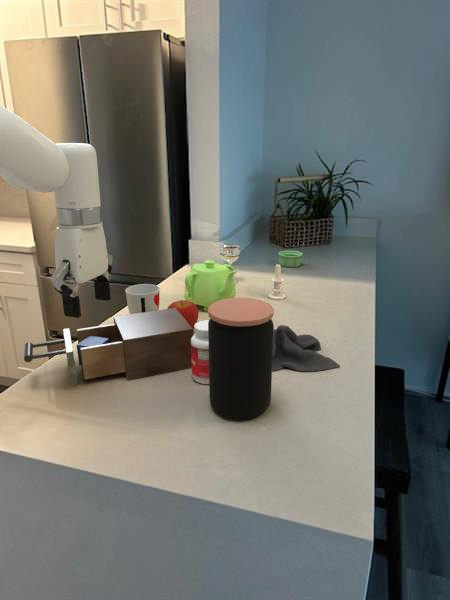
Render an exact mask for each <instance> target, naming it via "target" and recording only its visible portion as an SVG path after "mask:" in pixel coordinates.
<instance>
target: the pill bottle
mask: <svg viewBox="0 0 450 600" xmlns="http://www.w3.org/2000/svg"><path fill="white" fill-rule="evenodd" d="M209 320H210V319H207V320H206V319H205V320H200V321H197V323H196V324H195V325H194V330H193V336H192V338H191V359H192V368H191V377H192V379H193V380H194V381H195V382H197V383H198V384H199V383H200V384H203V385H209V341H208V322H209Z"/></svg>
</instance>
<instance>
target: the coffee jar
mask: <svg viewBox="0 0 450 600" xmlns="http://www.w3.org/2000/svg"><path fill="white" fill-rule="evenodd" d="M207 313H208V318H210V319H208V320H209V322H208V341H209V384H208V386H209V390H208V391H209V404H210V405H211V407H212V408H213V409H214V411H216V413H217V414H218V415H220V416H221V417H224V418H226V419H229V420H235V421H249V420H252V419H255V418H258V417H259V416H262V415H263V414H264V413H265V411H266V410H267V409H268V408H269V407H270V405H271V402H272V382H273V381H272V379H273V371H272V356H273V329H275V328H274V327H275V325H274V321H273V320H272V319H273V317H274V313H275V309H274V307H273V305H272V304H270V303H269V302H267V301H264V300H262V299H257V298H253V297H234V298H228V299H223V300H219V301H216V302H214V303H213V304H211V305H210V306H209V308H208V311H207Z"/></svg>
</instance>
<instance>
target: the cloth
mask: <svg viewBox="0 0 450 600" xmlns="http://www.w3.org/2000/svg"><path fill="white" fill-rule="evenodd" d="M321 350H322V347H321V343H320V341H319V339H318V338H317V337H315V336H313V335H312V334H299V335H297V333H296V332H295V331H294V330H293V329H292V328H291V327H290V326H288V325H283V324H280V325H278V326H277V328H276V329H275V328H273V356H272V372H276V371H280V370H281V369H284V368H287V369H290V370H294V371H298V372H301V373H302V372H303V373H310V372H322V371H326V370H332V369H336V368H340V367H341V365H340V364H339V363H337V362H336V361H335V360H333V359H332V358H330V357H329V356H324V355H323V354H321V353H319V352H317V351H321Z"/></svg>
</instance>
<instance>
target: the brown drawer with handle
mask: <svg viewBox="0 0 450 600" xmlns="http://www.w3.org/2000/svg"><path fill="white" fill-rule="evenodd" d="M62 333H63V338H62V339H56V340H49V341H43V342H37V343H32V342H31V341H30V342H29V341H28V342H26V343H25V344H24V352H23V360H24V362H26V363H31V362H32V361H33V360H36V359H42V358H48V357H54V356H55V357H56V356H61V355H66V362H67V368H68V376H69V383H70V386H76V385H78V375H77V370H76V363H75V354H74V348H73V342H72V337H71V330H70V328H69V327H68V328H62ZM89 336H95V337H102V338H109V342H110V343H108V344H102V345H96V346H90V347H84V348H80V351H81V358H82V366H81V369H82V374H83V379H84V380H90V379H95V378H101V377H106V376H110V375H111V376H112V375H117V374H123V373H124V372H126V365H125V355H124V344H123V340H122V338H121V336H120V333H119V331H118V329H117V326H116V324H114V323H111V324H103V325H98V326H90V327H84V328H83V327H82V328H78V329H77V328H76V338H77V342H78V343H77V344H79V343H80V342H81V341H83V340H84V339H86V338H87V337H89ZM59 344H60V345H61V344H64V347H65V349H60V350H53V351H47V352H42V353H37V354H33V353H34V349H35V348H40V347H41V348H42V347H48V346H53V345H59Z"/></svg>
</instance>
